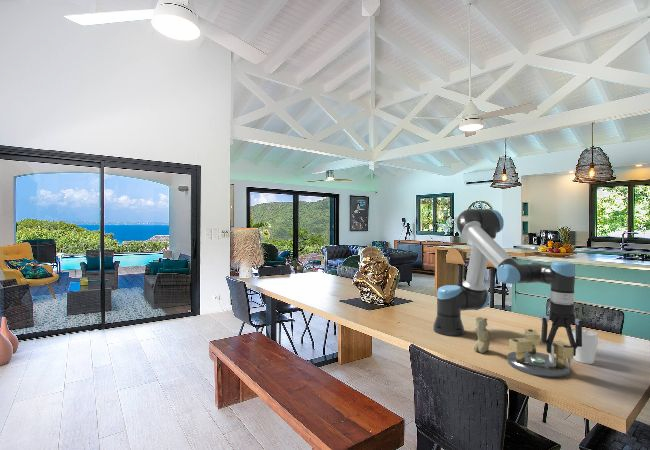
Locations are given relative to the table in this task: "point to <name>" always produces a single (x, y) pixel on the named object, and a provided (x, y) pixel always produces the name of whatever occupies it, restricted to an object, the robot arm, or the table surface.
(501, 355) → the table surface
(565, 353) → the knob right
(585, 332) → the cup
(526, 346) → the knob left
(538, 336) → the beige blocky piece
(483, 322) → the sculpture
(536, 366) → the plate
